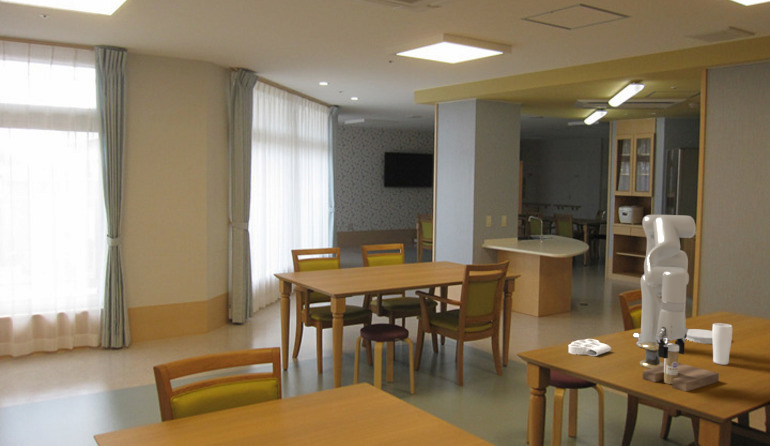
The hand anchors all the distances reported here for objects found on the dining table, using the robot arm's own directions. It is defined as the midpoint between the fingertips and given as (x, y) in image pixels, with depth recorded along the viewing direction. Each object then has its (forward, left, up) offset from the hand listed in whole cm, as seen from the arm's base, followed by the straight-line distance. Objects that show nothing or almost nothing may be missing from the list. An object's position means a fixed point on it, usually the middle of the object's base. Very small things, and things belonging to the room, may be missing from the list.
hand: (671, 355), depth 212 cm
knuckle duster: (-43, +10, -10) cm, 45 cm away
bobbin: (-16, +14, -10) cm, 23 cm away
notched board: (0, +6, -10) cm, 11 cm away
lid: (-28, +73, -10) cm, 79 cm away
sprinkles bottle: (0, 0, -10) cm, 10 cm away
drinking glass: (-4, +40, -10) cm, 41 cm away
